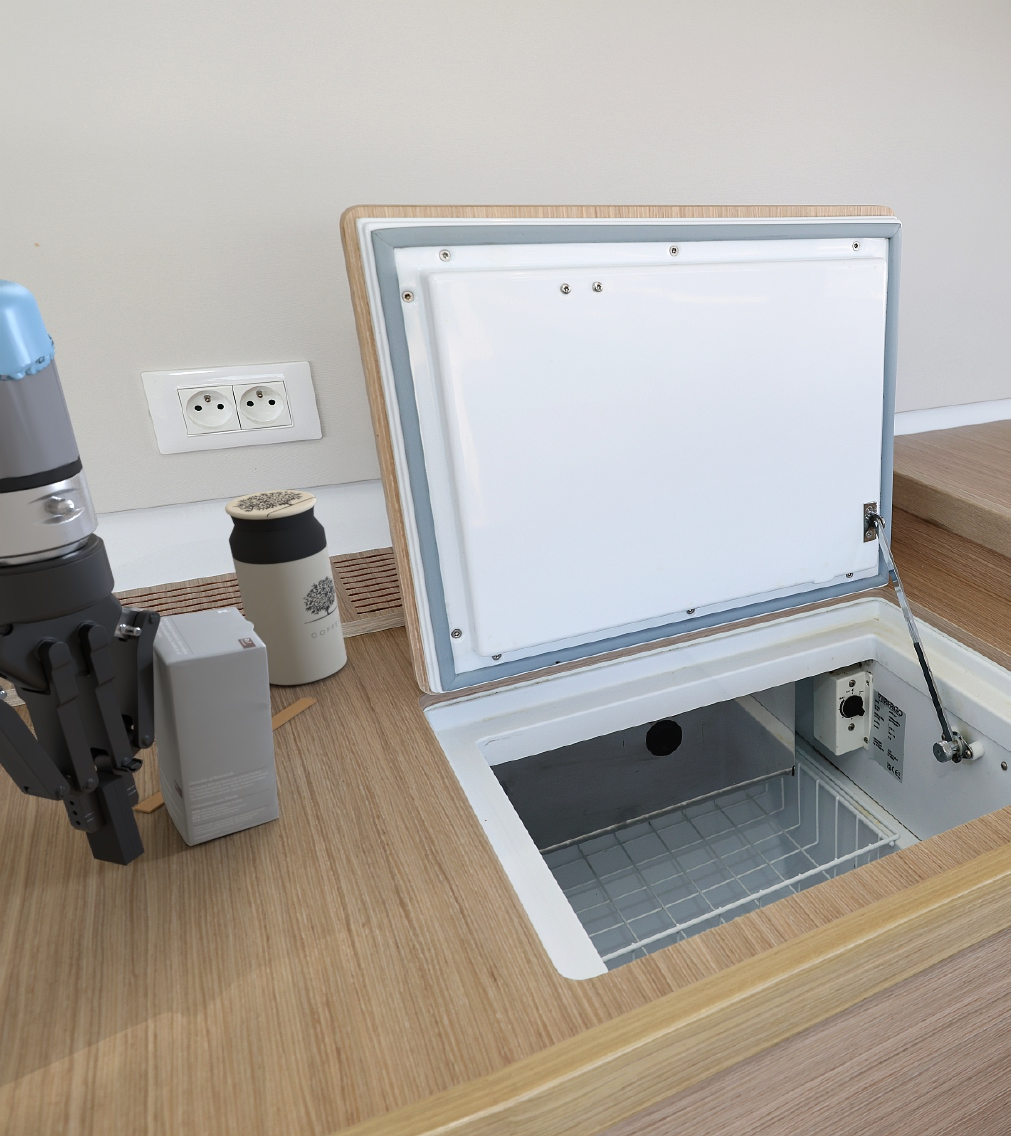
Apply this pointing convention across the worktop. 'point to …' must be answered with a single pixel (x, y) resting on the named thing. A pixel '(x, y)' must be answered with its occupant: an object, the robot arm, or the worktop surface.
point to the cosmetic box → (213, 724)
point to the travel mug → (287, 584)
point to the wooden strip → (277, 721)
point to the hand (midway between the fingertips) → (119, 855)
